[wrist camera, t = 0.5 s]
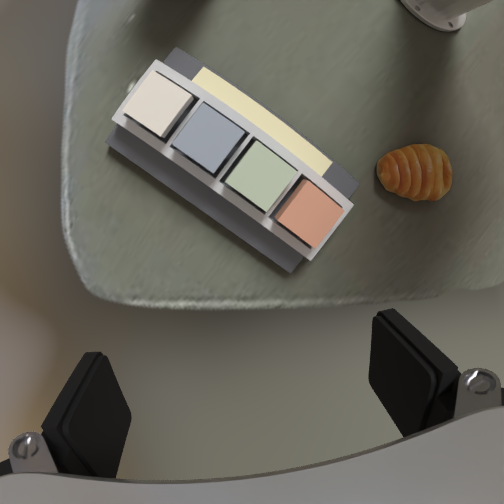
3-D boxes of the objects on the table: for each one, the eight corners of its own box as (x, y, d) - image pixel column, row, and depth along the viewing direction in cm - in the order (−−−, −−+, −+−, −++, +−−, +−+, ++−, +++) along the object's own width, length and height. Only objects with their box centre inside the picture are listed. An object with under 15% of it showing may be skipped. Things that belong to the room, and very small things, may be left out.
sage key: (254, 141, 27) (256, 140, 26) (293, 171, 28) (297, 171, 27) (225, 180, 28) (224, 181, 26) (264, 209, 29) (266, 212, 27)
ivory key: (156, 75, 25) (152, 70, 23) (193, 99, 26) (191, 94, 24) (127, 113, 26) (122, 110, 24) (164, 138, 27) (160, 136, 25)
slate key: (204, 106, 26) (203, 102, 24) (243, 133, 27) (245, 131, 25) (174, 145, 27) (171, 144, 25) (214, 172, 28) (213, 173, 26)
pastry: (374, 201, 34) (390, 206, 30) (371, 142, 32) (387, 140, 28) (437, 198, 34) (456, 202, 31) (436, 144, 32) (454, 144, 29)
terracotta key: (303, 179, 29) (308, 180, 27) (338, 207, 30) (344, 210, 28) (274, 216, 29) (277, 220, 28) (310, 244, 30) (315, 249, 29)
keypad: (177, 51, 27) (172, 39, 24) (354, 182, 33) (368, 185, 29) (109, 143, 30) (97, 141, 26) (288, 269, 35) (294, 280, 31)
